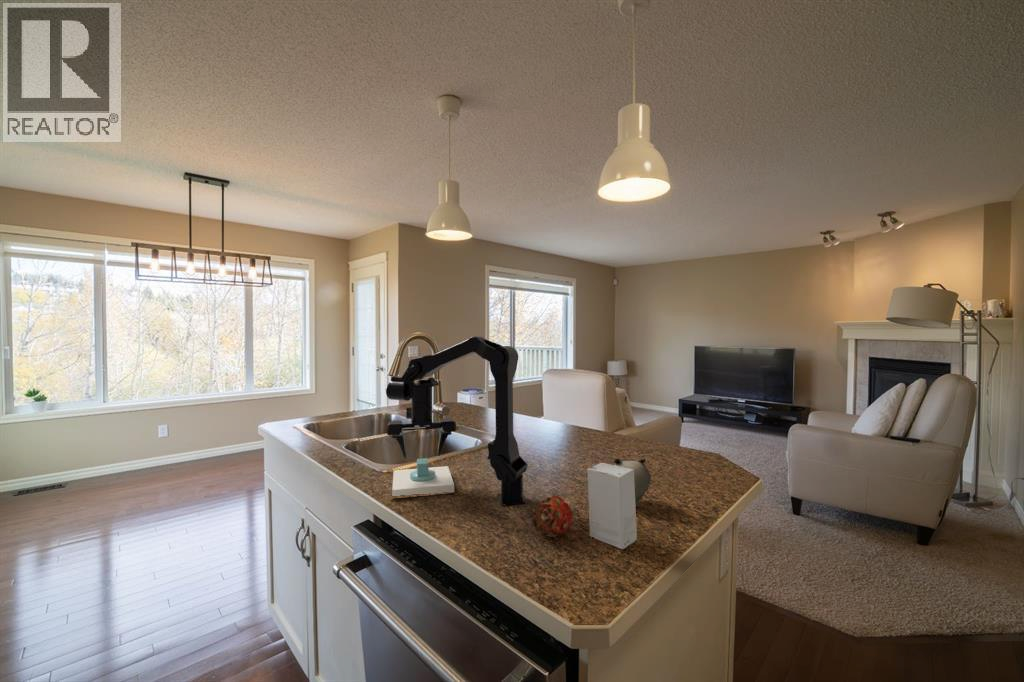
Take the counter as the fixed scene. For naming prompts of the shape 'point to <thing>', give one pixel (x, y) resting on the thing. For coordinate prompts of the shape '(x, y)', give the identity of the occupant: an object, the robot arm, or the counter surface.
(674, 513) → the counter surface
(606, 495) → the skincare box
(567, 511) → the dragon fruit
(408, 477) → the white slab
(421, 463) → the cap
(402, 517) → the counter surface
